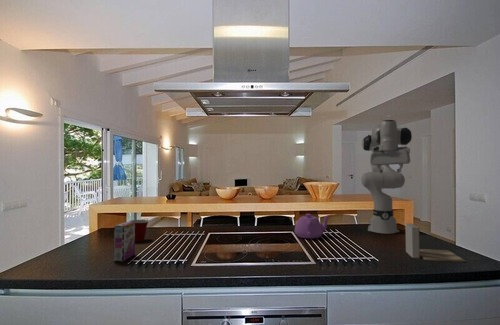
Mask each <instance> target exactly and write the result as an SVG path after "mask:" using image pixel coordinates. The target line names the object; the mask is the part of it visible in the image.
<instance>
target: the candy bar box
mask: <svg viewBox="0 0 500 325" xmlns="http://www.w3.org/2000/svg"><path fill="white" fill-rule="evenodd" d="M135 244H136V243H135V222H130V221H125V222H122V223H119V224H116V225H114V226H113V262H118V263H119V262H120V263H122V262H123V263H124V262H125V261H126V260H128V259H130V258H131V257H133V256H135V252H136V250H135V247H136V246H135Z"/></svg>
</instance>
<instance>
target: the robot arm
mask: <svg viewBox="0 0 500 325" xmlns="http://www.w3.org/2000/svg"><path fill="white" fill-rule="evenodd" d="M412 135H413V134H412V131H411V130H410V129H409V128H408V127H401V128H400V127H399V128H398V125H397V121H396V120H394V119H385V120H381V121H380V125H379V124H378V125H376V126H374V127H373V128H372V130H371V134H368V135H367V136H365V137H364V138H362V140H361V141H362V142H361V145H362V149H363V150H364V151H368V152H369V151H370V152H371V153H370V158H369V163H370V166H371V167H370V168H371V171H369V172H365V173H363V174H362V176H361V179H360V181H361V184H362V185H363V187H365V188H366V189H367V190H368V191H369V193H370V194H371V196H372V200H373V211H372V218H371V219H369V220H368V222H369V223H368V224H369V225H368V227H367V231H368V232H373V233H377V234H389V235H390V234H396V233H400V230H399V229H398V228H397V219H396V217H394V209H393V198H392V197H391V195H389V194H387V193H385V192H383V191H382V189H383V190H384V189H386V190H387V189H388V190H389V189H392V190H394V189H400V188H402V187H403V186H404V185H405V182H406V178H405V176H404V175H403V173H402V169H403V167H404V165H406V164H410V163H411V156H410V155H411V148H410V147H407V145H408V144H410V142H411V141H412V138H413V136H412ZM400 145H401V146H400ZM390 165H399V167H398V168H397V169H396V170H395V169H393V168H392V167H390Z"/></svg>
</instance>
